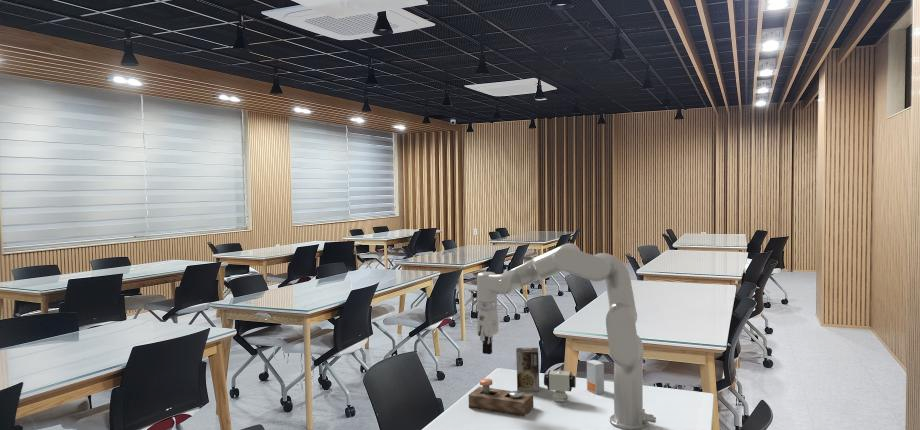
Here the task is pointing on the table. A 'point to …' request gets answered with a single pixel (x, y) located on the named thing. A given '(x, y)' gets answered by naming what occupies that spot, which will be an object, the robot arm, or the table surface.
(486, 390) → the terracotta plug
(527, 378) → the coffee box
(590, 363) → the skincare box
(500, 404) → the plug box
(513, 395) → the steel plug
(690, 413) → the table surface
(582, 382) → the table surface
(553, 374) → the pneumatic valve
